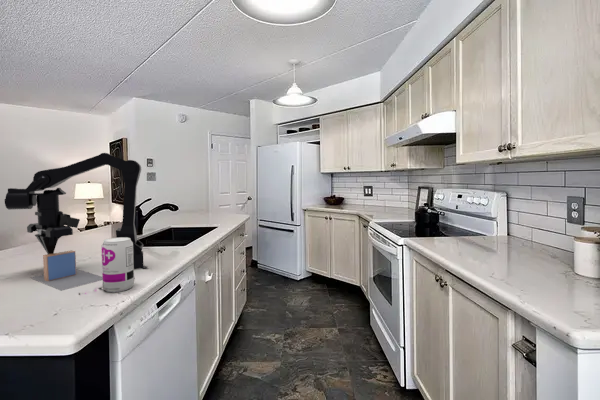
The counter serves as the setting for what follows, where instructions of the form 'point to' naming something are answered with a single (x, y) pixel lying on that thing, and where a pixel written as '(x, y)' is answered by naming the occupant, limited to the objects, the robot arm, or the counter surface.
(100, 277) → the mat
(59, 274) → the tile
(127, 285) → the supplement can
